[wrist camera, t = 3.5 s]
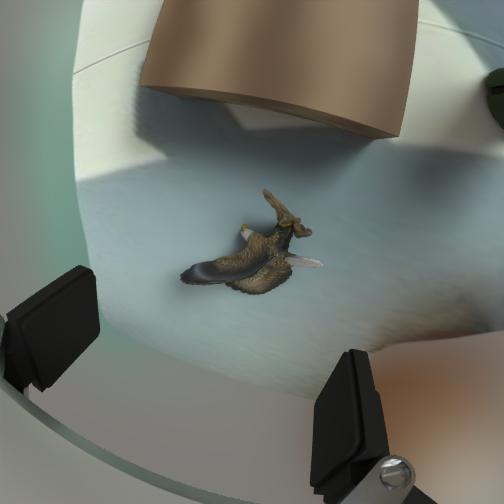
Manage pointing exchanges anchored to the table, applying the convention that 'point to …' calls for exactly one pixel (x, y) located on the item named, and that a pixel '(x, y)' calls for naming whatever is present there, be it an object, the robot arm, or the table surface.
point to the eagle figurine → (256, 258)
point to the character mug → (497, 95)
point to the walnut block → (290, 57)
